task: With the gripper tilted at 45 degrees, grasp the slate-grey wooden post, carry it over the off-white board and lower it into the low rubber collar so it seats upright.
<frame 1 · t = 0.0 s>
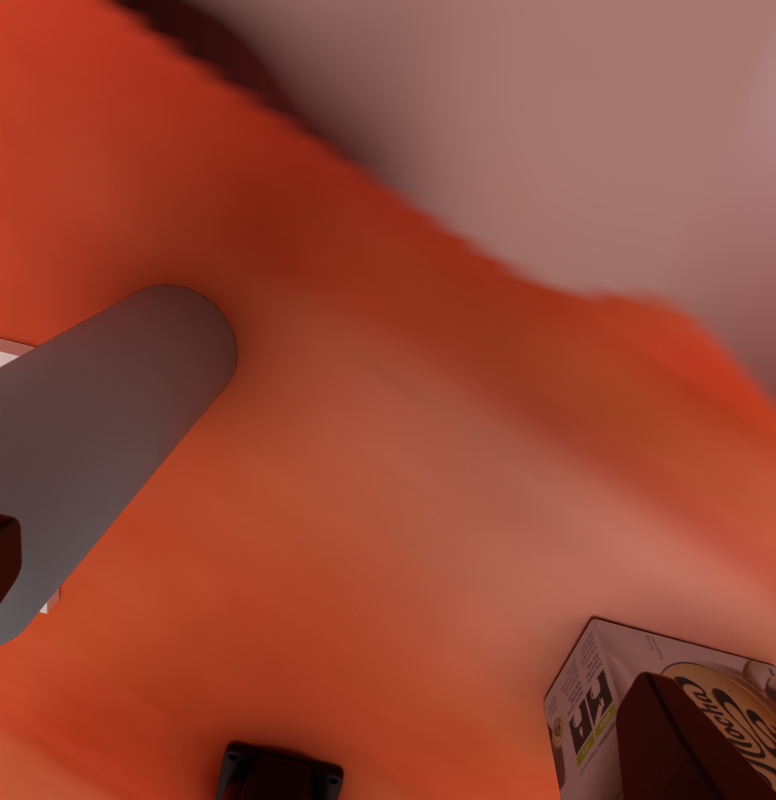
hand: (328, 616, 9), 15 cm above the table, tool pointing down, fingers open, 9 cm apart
slate post: (175, 346, 23), on the table
coffee box: (654, 683, 29), on the table
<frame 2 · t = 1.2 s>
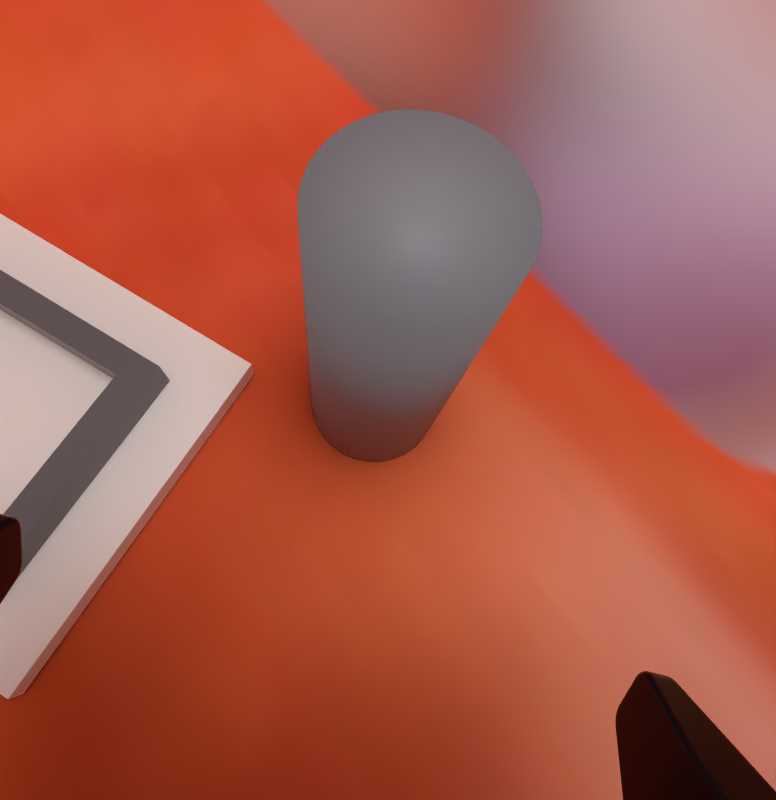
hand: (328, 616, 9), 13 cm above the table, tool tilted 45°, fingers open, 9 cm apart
slate post: (373, 401, 24), on the table
seat board: (1, 425, 22), on the table
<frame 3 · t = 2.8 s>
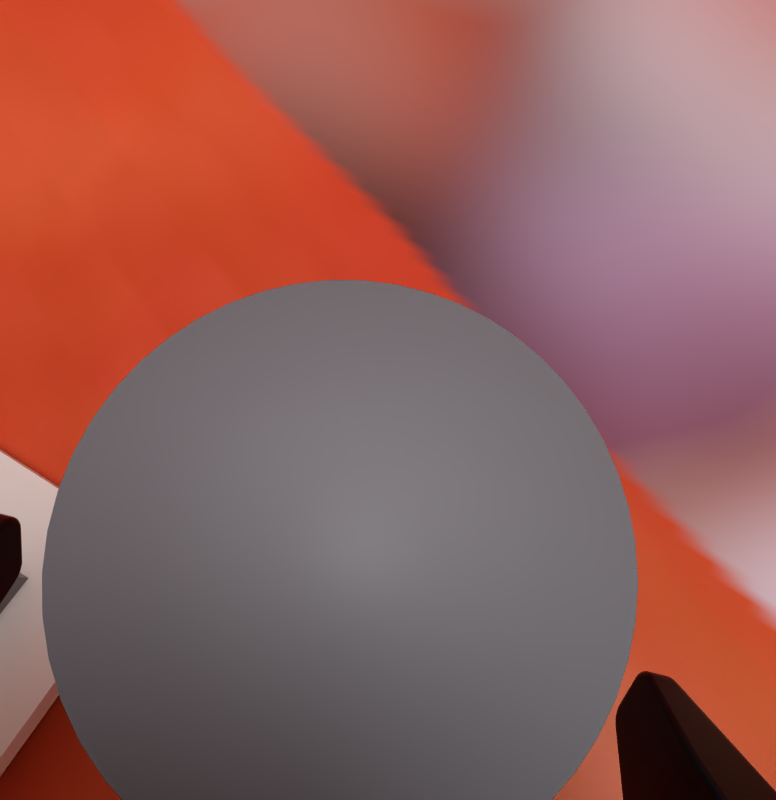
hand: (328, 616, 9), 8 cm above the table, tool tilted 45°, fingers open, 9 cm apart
slate post: (330, 591, 17), on the table
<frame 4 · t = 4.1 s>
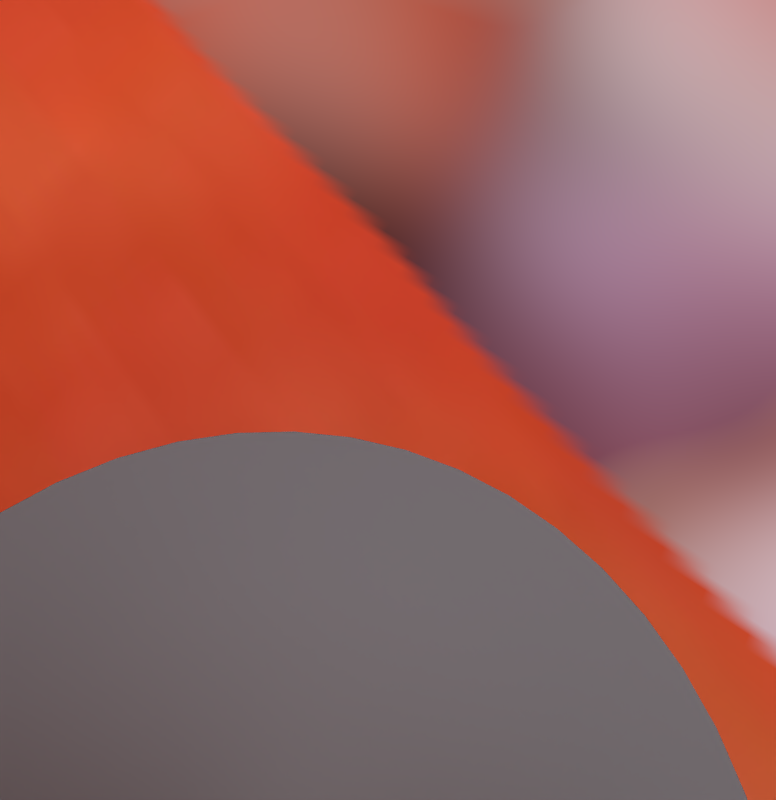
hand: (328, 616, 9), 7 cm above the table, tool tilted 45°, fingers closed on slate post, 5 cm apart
slate post: (309, 674, 14), on the table, touching gripper
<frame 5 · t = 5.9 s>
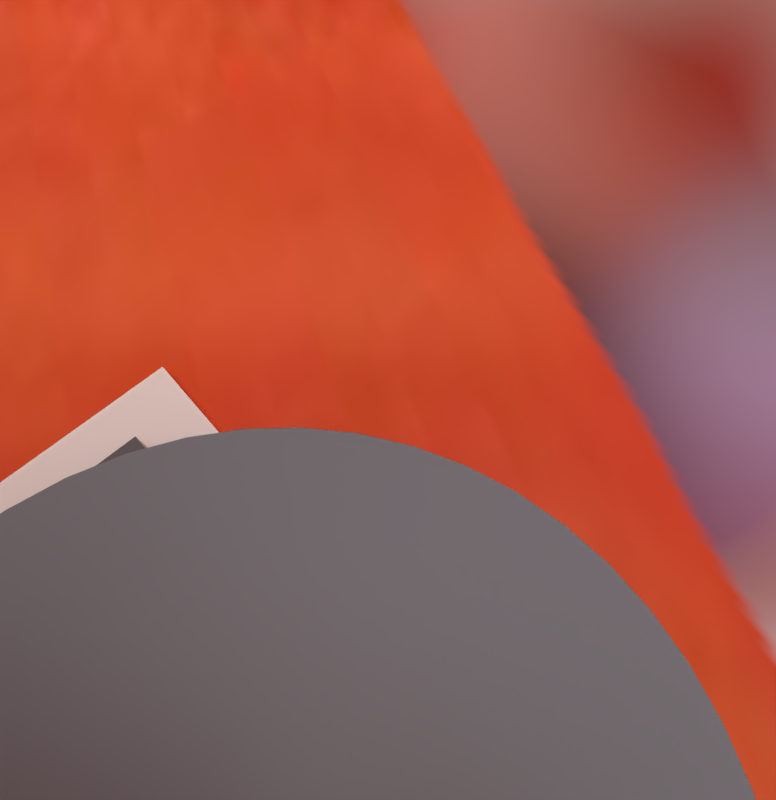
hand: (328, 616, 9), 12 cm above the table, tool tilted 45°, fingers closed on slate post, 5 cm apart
slate post: (311, 673, 14), point 6 cm above the table, touching gripper
seat board: (123, 643, 19), on the table
when the fingers open (8 cm above the table, at t = 7.7 s): slate post stays where it is, resting on seat board.
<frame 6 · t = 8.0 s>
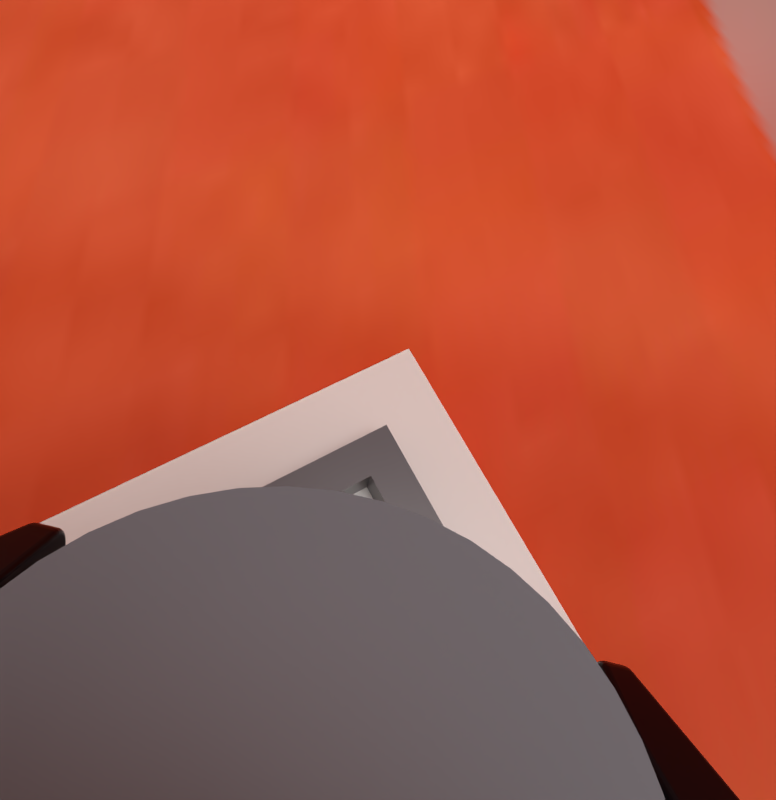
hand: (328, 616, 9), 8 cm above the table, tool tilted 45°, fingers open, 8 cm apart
slate post: (311, 672, 15), point 1 cm above the table, touching seat board
seat board: (311, 666, 16), on the table
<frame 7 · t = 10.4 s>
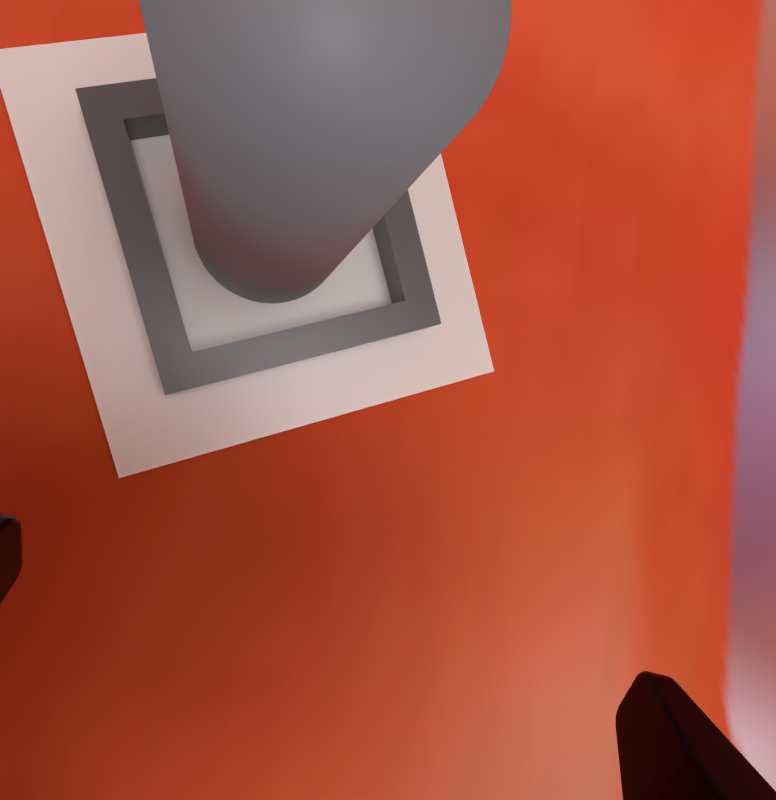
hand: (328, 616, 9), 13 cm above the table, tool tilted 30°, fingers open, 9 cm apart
slate post: (269, 229, 20), point 1 cm above the table, touching seat board
seat board: (267, 236, 21), on the table
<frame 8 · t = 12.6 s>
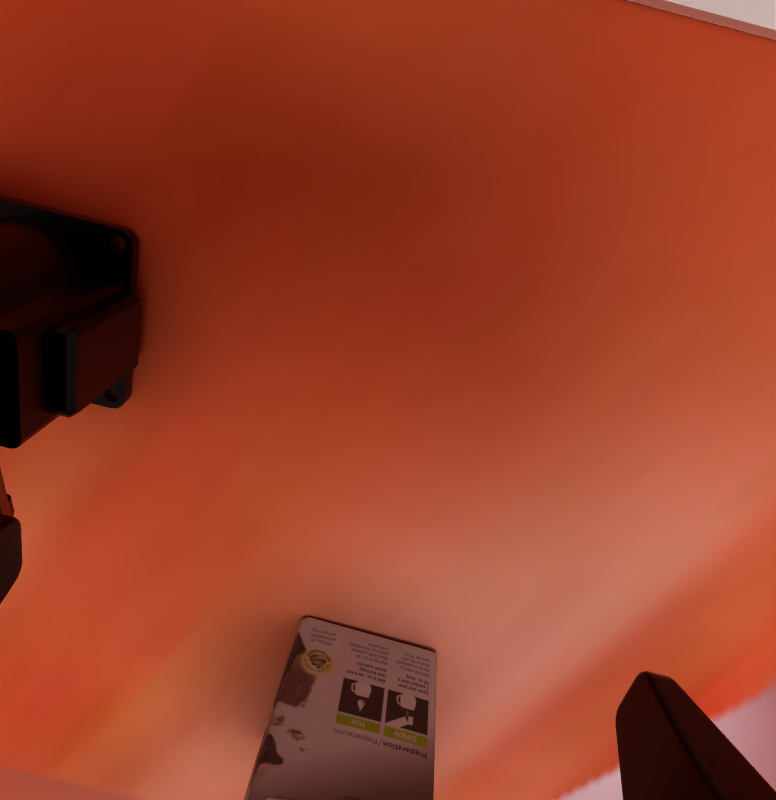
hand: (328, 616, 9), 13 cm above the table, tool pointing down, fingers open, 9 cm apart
coffee box: (345, 696, 28), on the table
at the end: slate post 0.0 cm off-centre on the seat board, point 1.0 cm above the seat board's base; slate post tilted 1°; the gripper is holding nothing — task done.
